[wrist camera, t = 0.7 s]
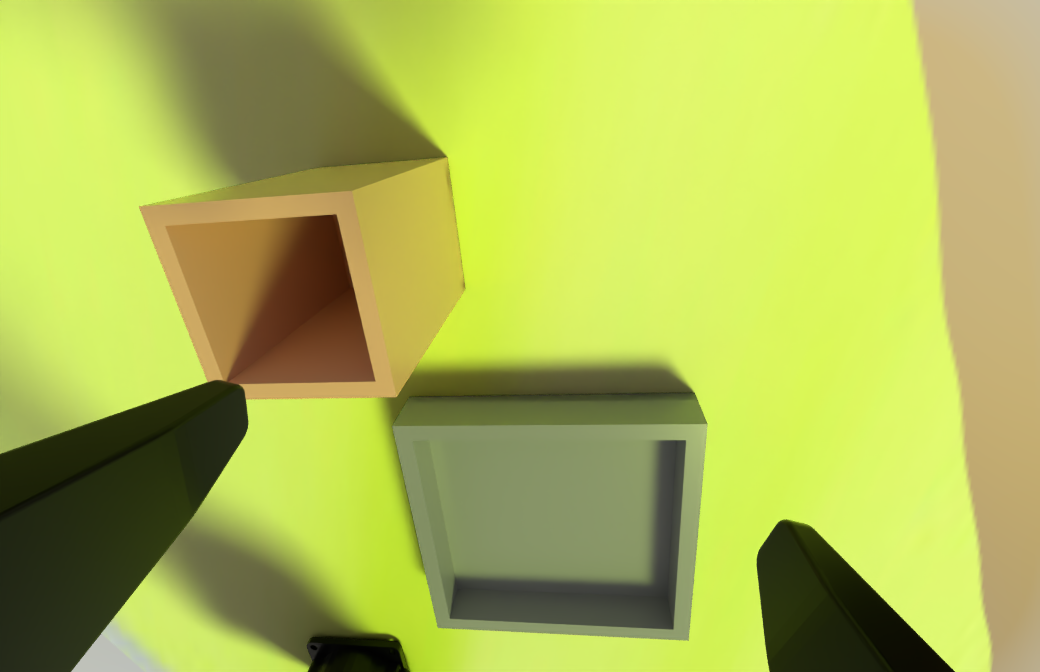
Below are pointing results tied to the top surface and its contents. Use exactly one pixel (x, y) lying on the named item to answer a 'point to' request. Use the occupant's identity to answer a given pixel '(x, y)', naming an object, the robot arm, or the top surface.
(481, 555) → the tray
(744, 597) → the top surface
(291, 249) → the terracotta cup
